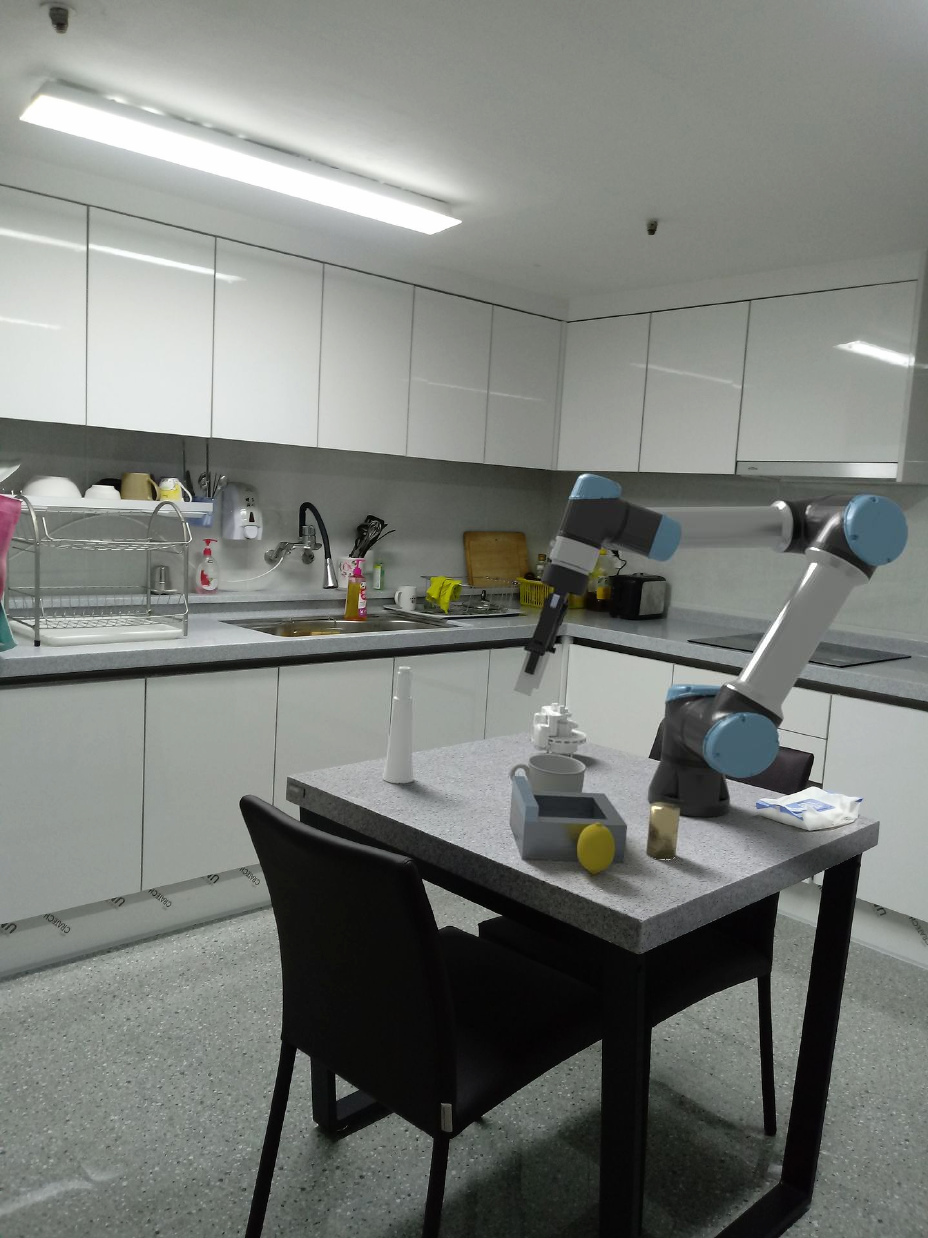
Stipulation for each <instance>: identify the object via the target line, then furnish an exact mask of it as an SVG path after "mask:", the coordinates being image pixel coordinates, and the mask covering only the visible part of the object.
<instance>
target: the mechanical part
mask: <svg viewBox="0 0 928 1238" xmlns="http://www.w3.org/2000/svg"><path fill="white" fill-rule="evenodd" d="M569 709H570V708H569V707H567V706H565V705H559V703H557V702H551V703H550V705H545V706H542V707H541V712H535V713H534V716H533V722H532V725H531V733H530V735H531V736H530V738H531V739H530V740H531V743H532V745H533V747H534V749H535V750H537V751H539V752H540V751H546V753H545V754H550V752H551V754H554V755H555V754H557V755H561V754H565V756H567V757H570V758H574V757H573V754H574V753H576V752H578V746H579V745H580V746H581V745H584V744H586V743H587V734H585V733H584V732H582V731H580V730H576V729H578V728H579V722H578V721H574V720H573V719H568V718H572V714H573V713H572V712H571V711H570V710H569Z"/></svg>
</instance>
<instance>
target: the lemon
mask: <svg viewBox="0 0 928 1238" xmlns="http://www.w3.org/2000/svg"><path fill="white" fill-rule="evenodd" d="M614 853H615V843H614V838H613V836H612V833H611V832H610V831H609V830H608V829H607V828H606V827H605V826H603V825H601V823H598V822H597V823H595V824H593V825H590V826H588V827H586V828H585V829H584V830H583V831H582V833H581V834H580V837H579V840H578V845H577V854H578V859H579V861H578V862H580V864H581V866H582V867H583V868H584V869H586V870H588V871H589V873H590V874H591V875H594V874H595V875H597V874H598V873H599V872H603V871H606V869H607V868H609V867H610V866H611V864H612V863H613V862H612V860H613V857H614Z"/></svg>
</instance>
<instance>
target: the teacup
mask: <svg viewBox="0 0 928 1238" xmlns="http://www.w3.org/2000/svg"><path fill="white" fill-rule="evenodd" d="M518 769H522V770H523V771H524V773H525V774H524V776H525V778H526V780H527V783H528V785H529V787H530V789H531V790H534V791H557V792H580V793H583V787H584V779H585V773H586V769H587V767H586V764H584V763H583V762H582V761H580V760H579V759H576V758H574V757H573V758H570V756H567V755H562V754H560V755H558V754H555V753H554V754H552V753H549V754H546V753H545V754H544V753H543V754H535V755H531V756H530V757H528V759H527V764H526V763H524V762H522V761H521V762H520V761H519V762H515V763H514V764H512V765H511V767H510V769H509V772H508V773H509V774H508V775H509V779H510V780H511V782H513V776H516V771H517V770H518Z"/></svg>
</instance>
